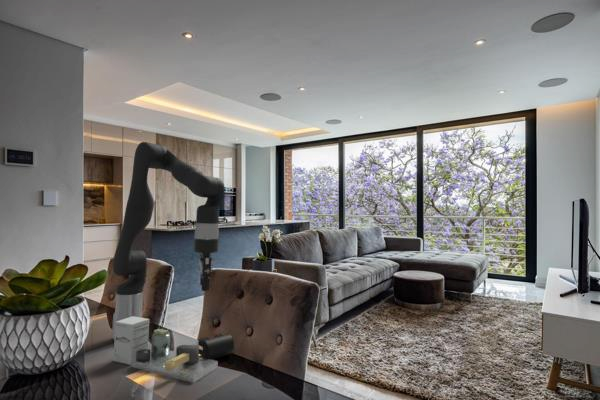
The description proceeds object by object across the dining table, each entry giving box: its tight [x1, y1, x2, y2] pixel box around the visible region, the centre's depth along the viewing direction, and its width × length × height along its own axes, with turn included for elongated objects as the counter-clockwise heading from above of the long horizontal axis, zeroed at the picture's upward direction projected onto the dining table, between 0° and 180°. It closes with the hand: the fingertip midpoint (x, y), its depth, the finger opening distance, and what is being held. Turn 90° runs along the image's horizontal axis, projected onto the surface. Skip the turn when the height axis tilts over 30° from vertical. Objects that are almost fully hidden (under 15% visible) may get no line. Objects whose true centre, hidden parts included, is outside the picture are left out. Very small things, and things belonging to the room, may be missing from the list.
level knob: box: [165, 344, 200, 371], centre depth 100 cm, size 12×4×4 cm, turn 157°
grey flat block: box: [130, 328, 219, 384], centre depth 105 cm, size 24×12×9 cm, turn 67°
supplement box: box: [113, 316, 150, 366], centre depth 110 cm, size 7×7×13 cm
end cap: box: [197, 333, 235, 360], centre depth 112 cm, size 10×7×7 cm
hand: (204, 287), depth 108 cm, fingers open, 8 cm apart
